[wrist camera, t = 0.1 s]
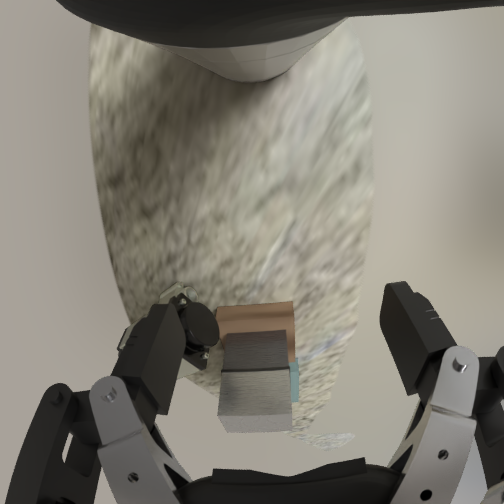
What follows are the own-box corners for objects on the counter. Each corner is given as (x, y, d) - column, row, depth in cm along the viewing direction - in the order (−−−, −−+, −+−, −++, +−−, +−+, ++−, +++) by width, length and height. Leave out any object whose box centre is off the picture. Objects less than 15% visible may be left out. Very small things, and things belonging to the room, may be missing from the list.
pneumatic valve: (228, 285, 31) (216, 374, 21) (164, 324, 35) (140, 400, 25) (194, 252, 29) (164, 339, 19) (133, 299, 33) (99, 373, 23)
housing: (225, 332, 32) (216, 415, 23) (286, 328, 31) (293, 413, 22) (233, 357, 35) (226, 432, 25) (288, 354, 34) (293, 430, 25)
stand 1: (217, 306, 33) (215, 321, 31) (292, 301, 32) (294, 316, 30) (230, 351, 38) (229, 365, 36) (293, 347, 37) (295, 361, 35)
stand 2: (230, 361, 39) (228, 375, 37) (297, 357, 38) (298, 371, 36) (240, 393, 45) (239, 404, 42) (297, 389, 44) (298, 401, 42)
